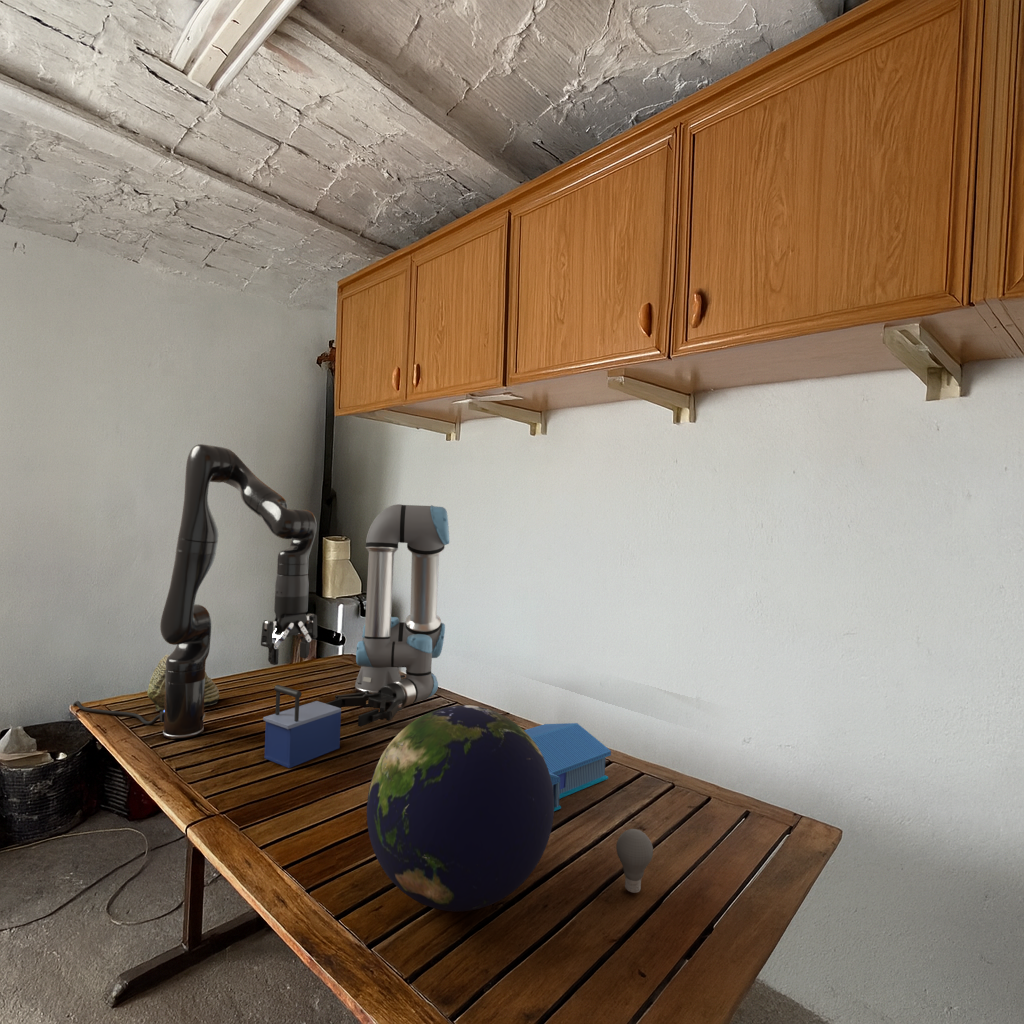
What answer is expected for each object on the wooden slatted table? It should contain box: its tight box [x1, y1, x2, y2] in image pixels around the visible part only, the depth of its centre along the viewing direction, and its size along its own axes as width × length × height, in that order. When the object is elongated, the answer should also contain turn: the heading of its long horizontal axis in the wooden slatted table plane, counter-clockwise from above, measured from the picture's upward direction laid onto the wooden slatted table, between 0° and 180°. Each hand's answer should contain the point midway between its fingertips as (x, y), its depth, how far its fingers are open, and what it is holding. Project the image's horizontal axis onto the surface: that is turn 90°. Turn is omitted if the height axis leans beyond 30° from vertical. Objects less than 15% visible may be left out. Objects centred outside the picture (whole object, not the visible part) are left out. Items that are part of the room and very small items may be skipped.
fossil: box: [147, 654, 221, 712], centre depth 185 cm, size 9×18×15 cm, turn 132°
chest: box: [264, 711, 342, 769], centre depth 156 cm, size 15×9×9 cm, turn 148°
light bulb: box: [615, 828, 654, 894], centre depth 106 cm, size 6×6×10 cm
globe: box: [366, 704, 555, 913], centre depth 102 cm, size 30×30×30 cm
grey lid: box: [262, 684, 342, 729], centre depth 155 cm, size 16×9×8 cm, turn 147°
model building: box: [523, 722, 612, 812], centre depth 142 cm, size 39×24×10 cm, turn 132°
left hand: (289, 660), depth 151 cm, fingers open, 8 cm apart
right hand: (340, 715), depth 163 cm, fingers open, 13 cm apart
